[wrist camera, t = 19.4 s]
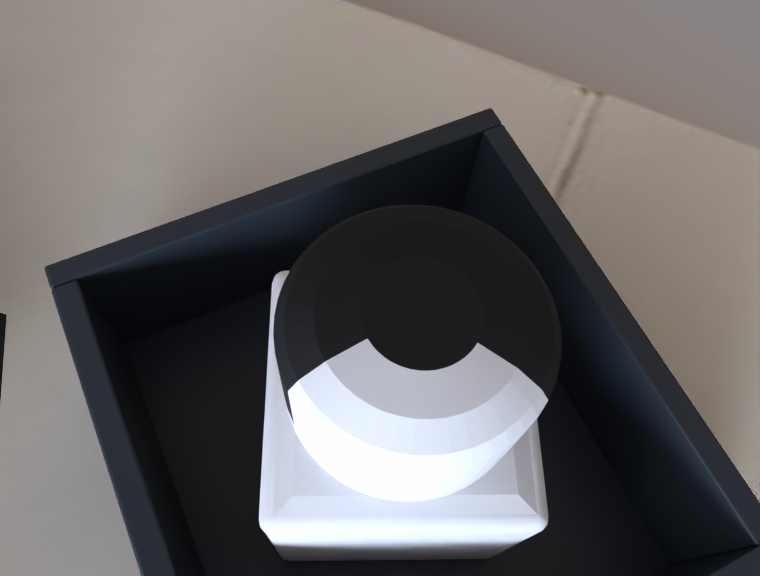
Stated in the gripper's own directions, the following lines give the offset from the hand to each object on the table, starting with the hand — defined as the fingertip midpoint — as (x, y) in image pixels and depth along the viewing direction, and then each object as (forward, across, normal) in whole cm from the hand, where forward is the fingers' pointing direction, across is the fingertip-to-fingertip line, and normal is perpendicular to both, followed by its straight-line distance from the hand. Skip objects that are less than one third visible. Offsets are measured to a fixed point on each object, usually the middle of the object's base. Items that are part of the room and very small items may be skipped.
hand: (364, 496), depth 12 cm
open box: (+12, 0, -7) cm, 14 cm away
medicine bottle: (+12, 0, -6) cm, 14 cm away
